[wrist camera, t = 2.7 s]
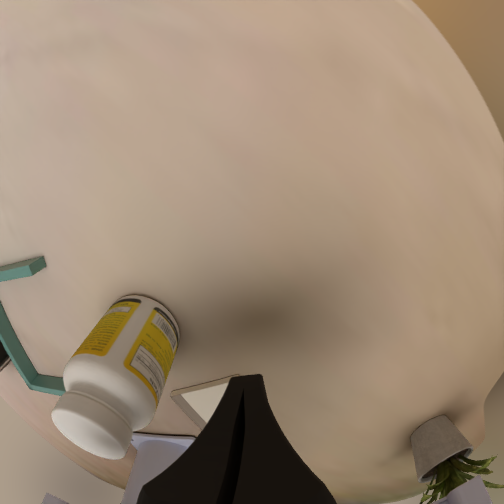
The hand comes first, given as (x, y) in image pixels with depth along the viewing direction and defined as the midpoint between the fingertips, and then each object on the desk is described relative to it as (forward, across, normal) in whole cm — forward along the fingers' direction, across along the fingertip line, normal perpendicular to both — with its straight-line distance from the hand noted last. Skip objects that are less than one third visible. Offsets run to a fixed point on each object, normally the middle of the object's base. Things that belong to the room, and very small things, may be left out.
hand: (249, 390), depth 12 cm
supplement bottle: (+7, +8, 0) cm, 10 cm away
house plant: (+7, -16, +21) cm, 28 cm away
